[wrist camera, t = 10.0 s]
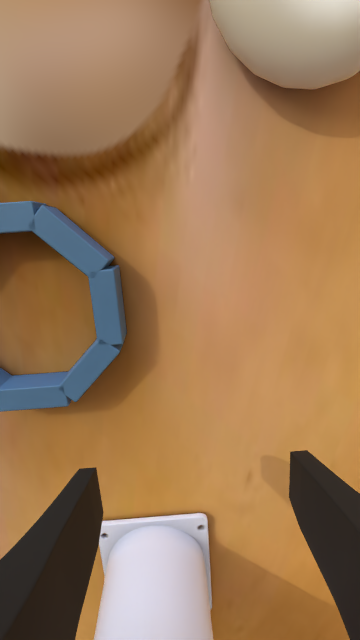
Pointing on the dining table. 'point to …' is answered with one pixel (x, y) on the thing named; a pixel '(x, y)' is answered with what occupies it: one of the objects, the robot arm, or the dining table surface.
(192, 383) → the dining table surface
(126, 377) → the dining table surface
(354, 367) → the dining table surface
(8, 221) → the ring
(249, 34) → the donut
